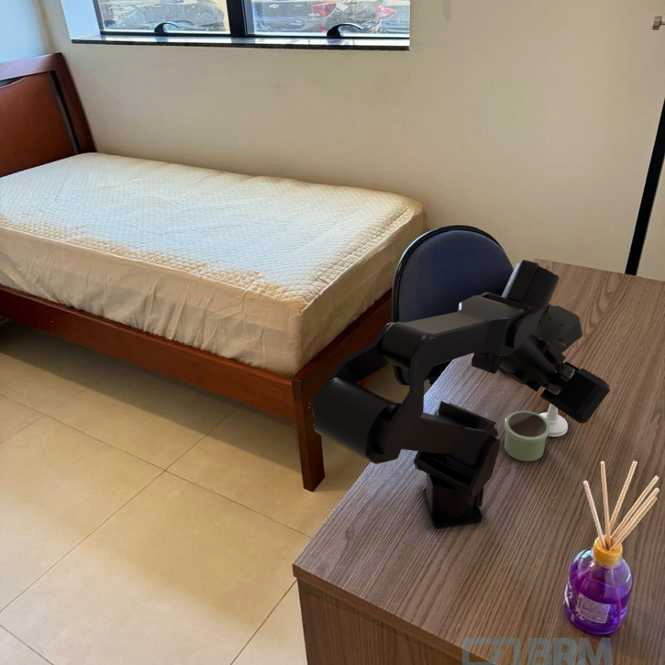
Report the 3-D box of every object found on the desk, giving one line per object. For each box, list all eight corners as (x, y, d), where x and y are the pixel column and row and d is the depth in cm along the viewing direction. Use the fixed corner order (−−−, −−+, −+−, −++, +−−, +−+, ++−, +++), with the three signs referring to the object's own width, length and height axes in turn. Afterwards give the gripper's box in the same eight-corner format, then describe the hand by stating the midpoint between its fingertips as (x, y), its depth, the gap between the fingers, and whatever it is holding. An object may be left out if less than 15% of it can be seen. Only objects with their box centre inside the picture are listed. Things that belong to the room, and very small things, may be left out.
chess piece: (527, 420, 94) (534, 367, 89) (554, 412, 95) (564, 360, 90) (545, 440, 90) (555, 386, 85) (574, 432, 91) (585, 378, 86)
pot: (511, 465, 86) (514, 441, 84) (496, 436, 92) (498, 413, 89) (553, 460, 87) (557, 436, 84) (536, 431, 92) (539, 407, 89)
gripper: (614, 330, 72) (653, 374, 82) (501, 273, 86) (546, 317, 96) (557, 407, 73) (603, 440, 83) (454, 338, 87) (505, 374, 97)
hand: (563, 388), depth 90 cm, fingers closed on chess piece
